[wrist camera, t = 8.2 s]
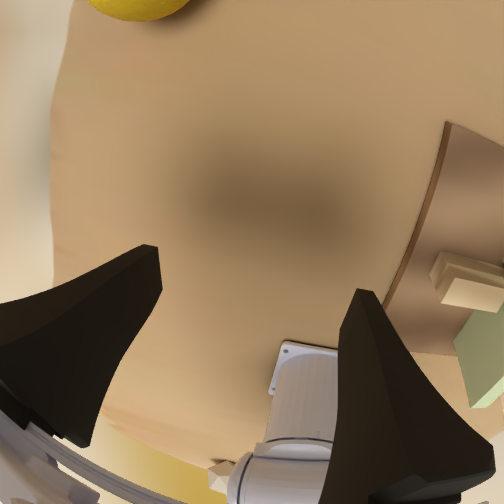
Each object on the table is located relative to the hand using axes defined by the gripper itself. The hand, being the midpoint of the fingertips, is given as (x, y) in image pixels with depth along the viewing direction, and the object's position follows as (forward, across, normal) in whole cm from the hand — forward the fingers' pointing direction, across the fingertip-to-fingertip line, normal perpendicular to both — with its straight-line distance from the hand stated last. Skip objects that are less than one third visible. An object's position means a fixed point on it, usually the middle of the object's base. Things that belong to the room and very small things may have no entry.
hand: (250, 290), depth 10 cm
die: (+10, +1, +62) cm, 63 cm away
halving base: (+9, -18, +2) cm, 20 cm away
